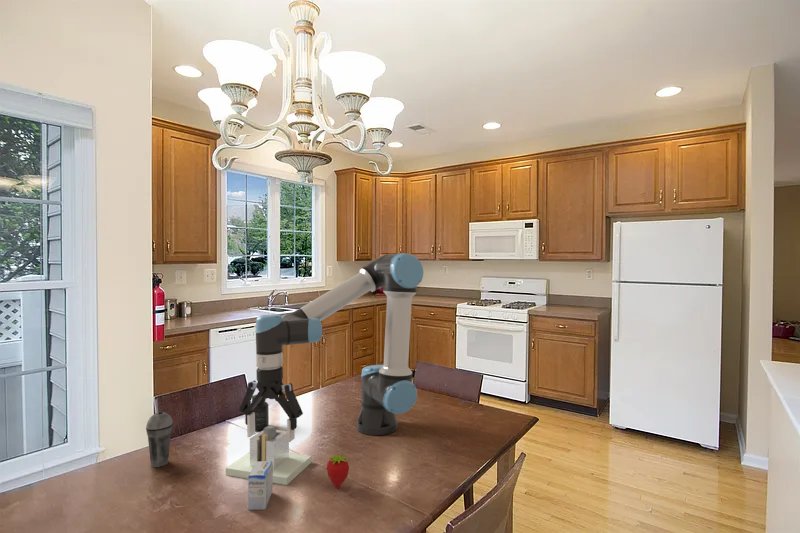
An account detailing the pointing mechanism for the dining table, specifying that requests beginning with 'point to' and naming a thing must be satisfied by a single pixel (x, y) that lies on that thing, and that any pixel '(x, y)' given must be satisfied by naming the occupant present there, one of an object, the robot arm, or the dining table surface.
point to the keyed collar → (270, 449)
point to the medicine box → (260, 485)
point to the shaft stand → (280, 474)
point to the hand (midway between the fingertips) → (270, 437)
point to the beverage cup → (159, 437)
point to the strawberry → (337, 470)
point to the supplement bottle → (261, 414)
